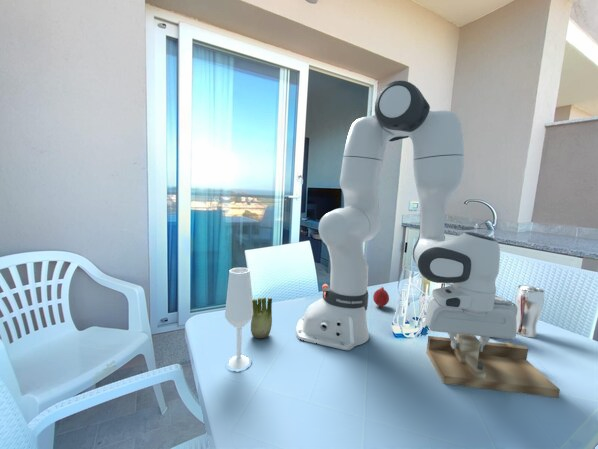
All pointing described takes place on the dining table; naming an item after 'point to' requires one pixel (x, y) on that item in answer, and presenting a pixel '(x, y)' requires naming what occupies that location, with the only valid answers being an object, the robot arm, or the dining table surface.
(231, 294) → the champagne flute
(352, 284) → the robot arm
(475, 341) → the marking gauge
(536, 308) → the beer glass
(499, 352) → the board
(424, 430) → the dining table surface
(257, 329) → the fennel bulb
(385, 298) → the onion
